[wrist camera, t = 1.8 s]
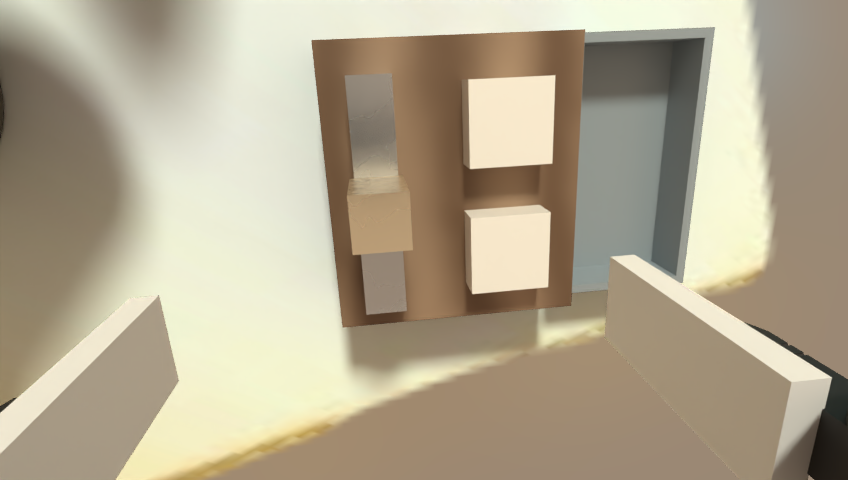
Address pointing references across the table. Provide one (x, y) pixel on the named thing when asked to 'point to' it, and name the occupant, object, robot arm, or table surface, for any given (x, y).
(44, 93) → the table surface
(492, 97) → the tile
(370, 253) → the gray bar with knob
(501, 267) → the tile
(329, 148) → the wood grain panel
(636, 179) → the box
